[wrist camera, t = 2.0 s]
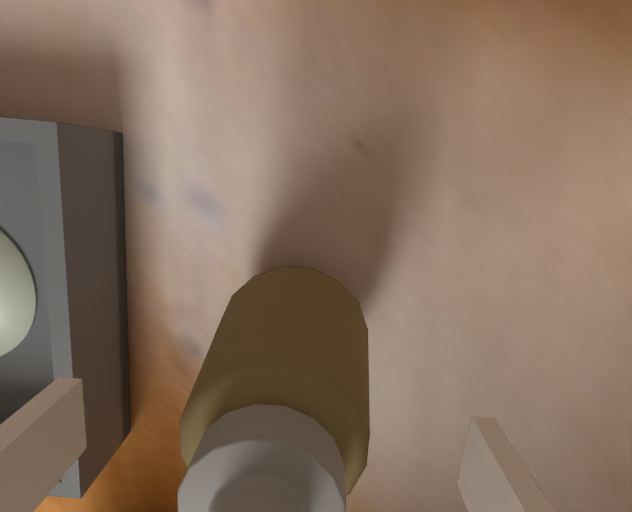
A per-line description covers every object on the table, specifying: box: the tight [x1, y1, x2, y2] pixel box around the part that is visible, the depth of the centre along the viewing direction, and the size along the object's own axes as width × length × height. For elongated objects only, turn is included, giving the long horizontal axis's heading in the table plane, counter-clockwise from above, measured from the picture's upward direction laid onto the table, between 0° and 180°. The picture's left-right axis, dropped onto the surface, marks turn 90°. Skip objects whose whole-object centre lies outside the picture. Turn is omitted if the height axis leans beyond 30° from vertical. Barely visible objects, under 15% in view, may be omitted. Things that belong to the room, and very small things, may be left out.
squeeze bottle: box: [177, 267, 370, 512], centre depth 15 cm, size 8×8×18 cm
